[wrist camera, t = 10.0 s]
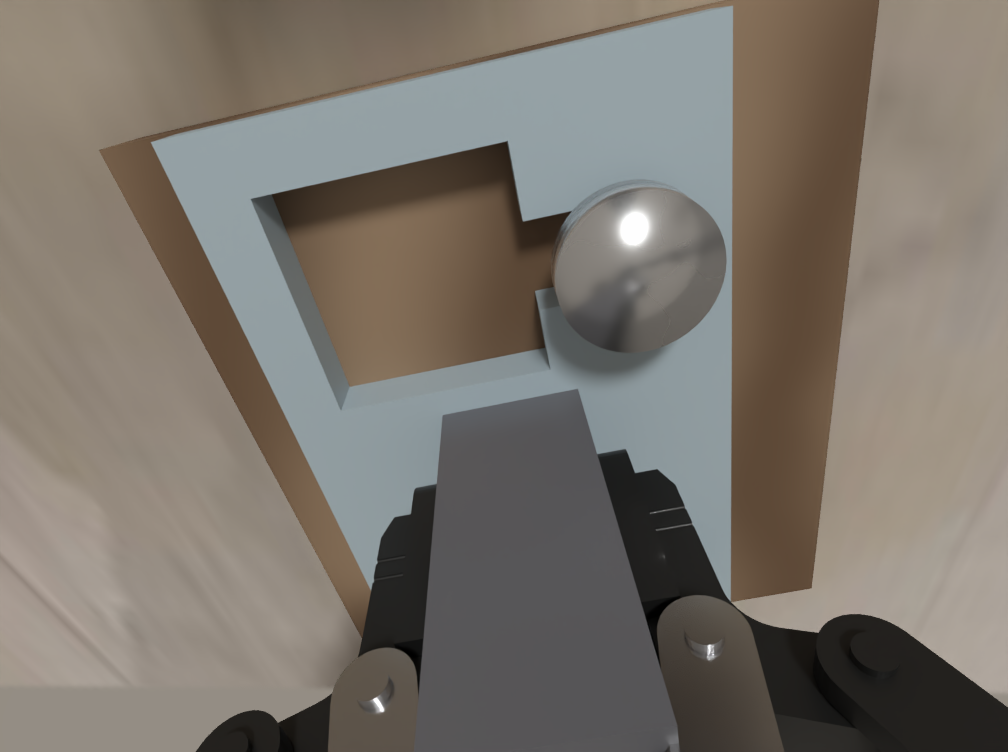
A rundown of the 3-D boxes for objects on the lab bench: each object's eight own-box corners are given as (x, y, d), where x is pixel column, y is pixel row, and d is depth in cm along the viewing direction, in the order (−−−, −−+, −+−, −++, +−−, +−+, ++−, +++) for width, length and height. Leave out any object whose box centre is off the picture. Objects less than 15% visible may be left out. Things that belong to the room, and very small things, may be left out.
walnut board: (834, -26, 11) (1009, -57, 7) (788, 550, 19) (860, 668, 15) (140, 138, 12) (-5, 180, 8) (381, 621, 20) (361, 747, 16)
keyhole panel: (710, 8, 10) (1288, -67, 3) (718, 605, 18) (872, 963, 11) (177, 133, 10) (-421, 324, 3) (420, 655, 18) (387, 1023, 12)
